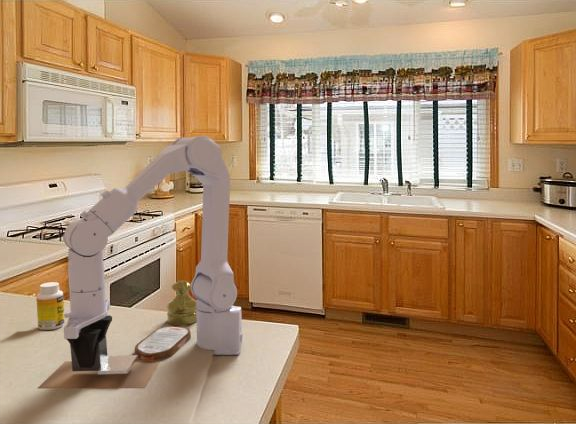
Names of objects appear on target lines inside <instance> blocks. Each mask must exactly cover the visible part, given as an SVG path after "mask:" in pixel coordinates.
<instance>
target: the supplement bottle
mask: <svg viewBox="0 0 576 424" xmlns="http://www.w3.org/2000/svg"><path fill="white" fill-rule="evenodd" d="M35 297H36V314H37V315H36V316H37V327H38V329H40V330H42V331H52V330H57V329H59V328H61V327H63V326H65V325H64V324H65V317H64V313H65V307H64V292H63V291H62V290H60V284H59V282H57V281H55V282H53V281H51V282H50V281H49V282H44V283H42V284H40V285H39V292H38V293H37V294H36V296H35Z"/></svg>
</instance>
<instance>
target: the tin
mask: <svg viewBox="0 0 576 424" xmlns="http://www.w3.org/2000/svg"><path fill="white" fill-rule="evenodd" d="M191 333H192V332H191V330H190V329H189V328H187V327H186V326H184V327H183V326H175V325H168V326H162V327H159V328H157V329H155V330H154V331H152V332H151V333H150V334H149V335H147V336H146V337H145V338H143V339H142V340H140V341H139V342H138V343H136V344H135V346H134V355H138V359H137V360H142V361H159V360H164V359H167V358H170V357H172V356H174V355H175V354H176V353H177V352H178V351H179V350H180V349H181V348H182V347H184V345H185V344H187V343H188V342H189V341H190V340H191Z"/></svg>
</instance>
